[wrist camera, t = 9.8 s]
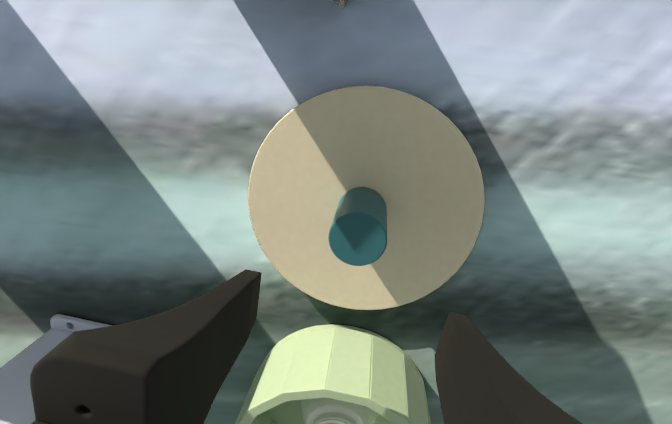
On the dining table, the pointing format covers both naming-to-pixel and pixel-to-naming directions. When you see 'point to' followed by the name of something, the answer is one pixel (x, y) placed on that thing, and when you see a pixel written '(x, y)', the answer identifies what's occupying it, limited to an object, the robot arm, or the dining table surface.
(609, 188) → the dining table surface
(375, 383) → the tub
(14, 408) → the robot arm
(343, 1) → the food container
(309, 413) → the lidless jar
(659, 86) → the dining table surface
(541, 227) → the dining table surface
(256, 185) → the tub lid
